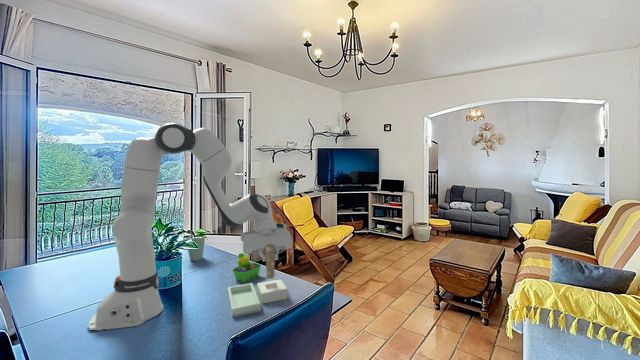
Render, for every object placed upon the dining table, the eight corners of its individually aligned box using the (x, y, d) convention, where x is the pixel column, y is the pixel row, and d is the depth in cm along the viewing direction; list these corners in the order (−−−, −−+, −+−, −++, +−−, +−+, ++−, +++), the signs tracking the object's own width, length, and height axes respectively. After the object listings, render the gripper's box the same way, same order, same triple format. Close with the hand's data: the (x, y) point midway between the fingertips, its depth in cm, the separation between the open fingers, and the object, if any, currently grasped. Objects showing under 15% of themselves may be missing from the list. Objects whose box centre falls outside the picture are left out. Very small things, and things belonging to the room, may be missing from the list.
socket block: (262, 303, 114) (261, 293, 114) (257, 292, 124) (257, 283, 123) (287, 298, 118) (287, 288, 118) (281, 288, 127) (280, 279, 127)
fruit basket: (242, 284, 132) (241, 259, 132) (230, 279, 138) (229, 255, 137) (262, 275, 142) (261, 252, 141) (249, 271, 147) (248, 248, 146)
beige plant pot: (203, 254, 173) (202, 229, 172) (209, 259, 165) (208, 232, 164) (183, 258, 167) (182, 232, 166) (189, 263, 158) (187, 236, 157)
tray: (232, 317, 105) (231, 309, 105) (227, 294, 123) (227, 287, 123) (260, 311, 109) (260, 303, 109) (252, 289, 126) (252, 282, 126)
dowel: (267, 279, 118) (266, 246, 117) (265, 276, 121) (265, 244, 120) (275, 277, 119) (274, 245, 118) (273, 274, 122) (273, 243, 121)
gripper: (240, 228, 121) (244, 259, 113) (289, 224, 129) (296, 253, 120) (239, 236, 126) (243, 267, 117) (286, 231, 133) (293, 260, 125)
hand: (270, 259), depth 119 cm, fingers closed on dowel, 3 cm apart
